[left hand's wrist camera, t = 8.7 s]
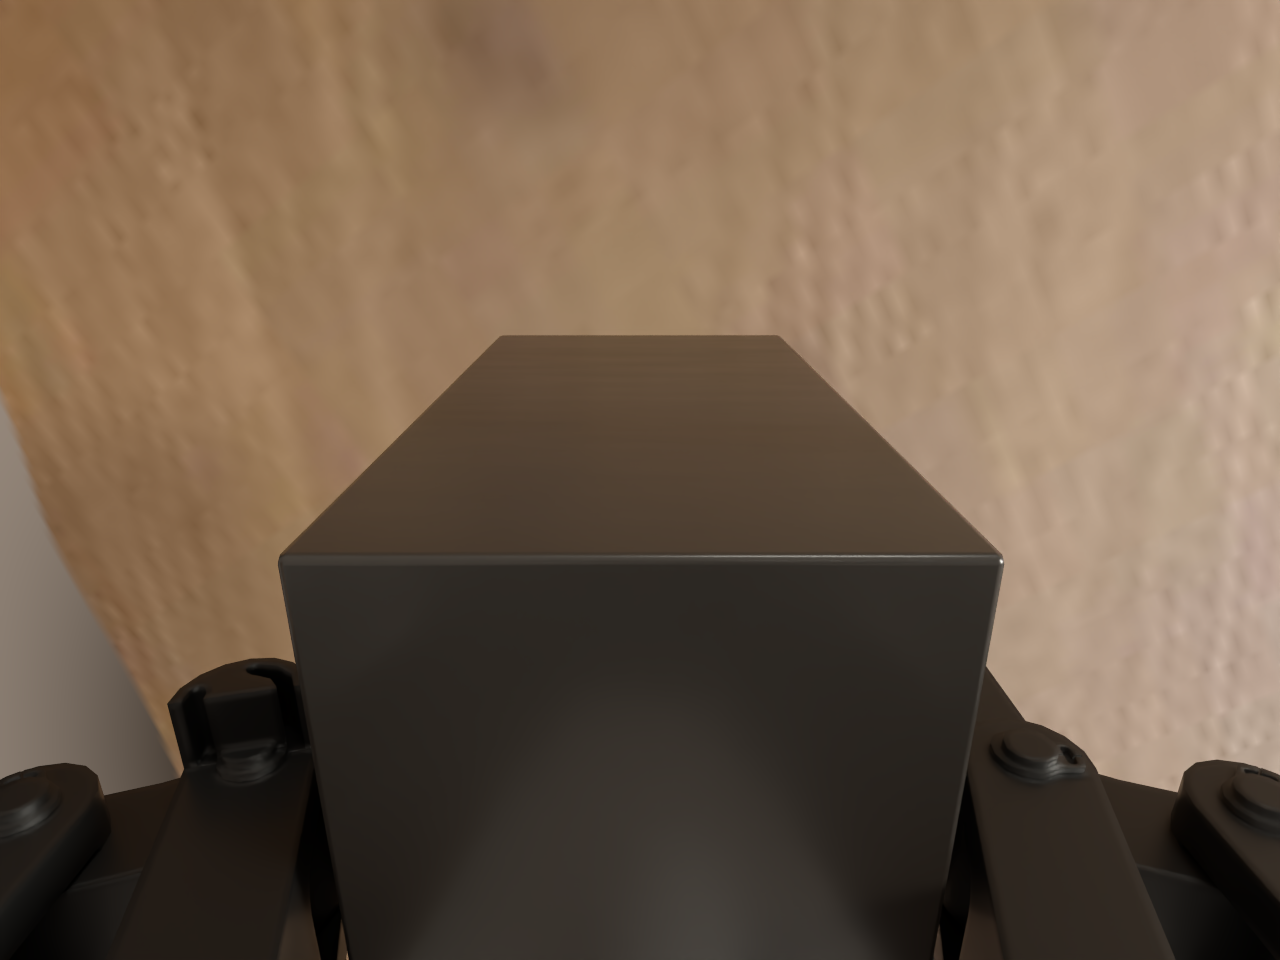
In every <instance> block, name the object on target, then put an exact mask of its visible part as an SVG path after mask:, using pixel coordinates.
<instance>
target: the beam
mask: <svg viewBox="0 0 1280 960" xmlns="http://www.w3.org/2000/svg"><path fill="white" fill-rule="evenodd" d="M278 567H279V573H280V579H281V584H282V590H283V595H284V601H285V606H286V612H287V618H288V623H289V629H290V634H291V640H292V645H293V651H294V657H295V662H296V668H297V673H298V679H299V684H300V690H301V696H302V701H303V707H304V712H305V718H306V723H307V729H308V735H309V740H310V746H311V751H312V757H313V762H314V768H315V774H316V779H317V785H318V790H319V796H320V802H321V807H322V813H323V818H324V824H325V829H326V835H327V841H328V846H329V852H330V857H331V863H332V868H333V874H334V880H335V885H336V891H337V896H338V902H339V907H340V913H341V919H342V924H343V930H344V935H345V941H346V946H347V952H348V958H349V960H933V956H934V950H935V944H936V939H937V933H938V928H939V922H940V917H941V911H942V906H943V900H944V895H945V889H946V884H947V878H948V872H949V867H950V861H951V856H952V850H953V845H954V839H955V834H956V828H957V823H958V817H959V812H960V806H961V800H962V795H963V789H964V784H965V778H966V773H967V767H968V762H969V756H970V751H971V745H972V739H973V734H974V728H975V723H976V717H977V712H978V706H979V701H980V695H981V690H982V684H983V679H984V673H985V667H986V662H987V656H988V651H989V645H990V640H991V634H992V629H993V623H994V618H995V612H996V607H997V601H998V595H999V590H1000V584H1001V579H1002V573H1003V568H1004V560H1003V556H1002V554H1001V553H1000V552H999V551H998V550H997V549H996V548H995V547H994V546H993V545H992V544H991V543H990V542H989V541H988V540H987V539H986V538H985V537H984V536H983V535H982V534H981V533H980V532H979V531H978V530H977V529H975V528H974V527H973V526H972V525H971V524H970V523H969V522H968V521H967V520H966V519H965V518H964V517H963V516H962V515H961V514H960V513H959V512H958V511H957V510H956V509H955V508H954V507H953V506H952V505H951V504H950V503H949V502H948V501H947V500H946V499H945V498H944V497H943V496H942V495H941V494H940V493H939V492H938V491H937V490H936V489H935V488H934V487H933V486H932V485H931V484H930V483H929V482H928V481H927V480H926V479H925V478H924V477H923V476H922V475H921V474H919V473H918V472H917V471H916V470H915V469H914V468H913V467H912V466H911V465H910V464H909V463H908V462H907V461H906V460H905V459H904V458H903V457H902V456H901V455H900V454H899V453H898V452H897V451H896V450H895V449H894V448H893V447H892V446H891V445H890V444H889V443H888V442H887V441H886V440H885V439H884V438H883V437H882V436H881V435H880V434H879V433H878V432H877V431H876V430H875V429H874V428H873V427H872V426H871V425H870V424H869V423H868V422H867V421H866V420H865V419H863V418H862V417H861V416H860V415H859V414H858V413H857V412H856V411H855V410H854V409H853V408H852V407H851V406H850V405H849V404H848V403H847V402H846V401H845V400H844V399H843V398H842V397H841V396H840V395H839V394H838V393H837V392H836V391H835V390H834V389H833V388H832V387H831V386H830V385H829V384H828V383H827V382H826V381H825V380H824V379H823V378H822V377H821V376H820V375H819V374H818V373H817V372H816V371H815V370H814V369H813V368H812V367H811V366H810V365H809V364H807V363H806V362H805V361H804V360H803V359H802V358H801V357H800V356H799V355H798V354H797V353H796V352H795V351H794V350H793V349H792V348H791V347H790V346H789V345H788V344H787V343H786V342H785V341H784V340H783V339H782V338H781V337H780V336H777V335H714V336H500V337H499V338H498V339H497V340H496V341H495V342H494V343H493V344H492V345H491V346H490V347H489V348H488V349H487V350H486V351H485V352H484V353H483V354H482V355H481V356H480V357H479V358H478V359H477V360H476V361H475V362H474V363H473V364H472V365H471V366H470V367H469V368H468V369H467V370H466V371H465V372H464V373H463V374H462V375H461V376H460V377H459V378H458V379H457V380H456V381H455V382H454V383H453V384H452V385H451V386H450V387H449V388H448V389H447V390H446V391H445V392H444V393H443V394H442V395H441V396H440V397H439V398H437V399H436V400H435V401H434V402H433V403H432V404H431V405H430V406H429V407H428V408H427V409H426V410H425V411H424V412H423V413H422V414H421V415H420V416H419V417H418V418H417V419H416V420H415V421H414V422H413V423H412V424H411V425H410V426H409V427H408V428H407V429H406V430H405V431H404V432H403V433H402V434H401V435H400V436H399V437H398V438H397V439H396V440H395V441H394V442H393V443H392V444H391V445H390V446H389V447H388V448H387V449H386V450H385V451H384V452H383V453H382V454H381V455H380V456H379V457H378V458H377V459H376V460H375V461H374V462H373V463H372V464H371V465H370V466H369V467H368V468H367V469H366V470H365V471H364V472H363V473H362V474H361V475H360V476H359V477H358V478H357V479H356V480H355V481H354V482H353V483H352V484H351V485H350V486H349V487H348V488H347V489H346V490H345V491H344V492H343V493H342V494H341V495H340V496H339V497H338V498H337V499H336V500H335V501H334V502H333V503H332V504H331V505H330V506H329V507H328V508H327V509H326V510H325V511H324V512H323V513H322V514H321V515H320V516H319V517H318V518H317V519H316V520H315V521H314V522H313V523H312V524H311V525H310V526H309V527H308V528H307V529H306V530H305V531H304V532H303V533H302V534H301V535H300V536H299V537H298V538H297V539H296V540H295V541H294V542H292V543H291V544H290V545H289V546H288V547H287V548H286V549H285V550H284V551H283V552H282V553H281V554H280V557H279V561H278Z"/></svg>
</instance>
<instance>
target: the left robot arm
mask: <svg viewBox="0 0 1280 960" xmlns="http://www.w3.org/2000/svg"><path fill="white" fill-rule="evenodd" d="M167 705H168V709H169V712H170V716H171V720H172V724H173V728H174V731H175V735H176V739H177V743H178V747H179V751H180V754H181V758H182V762H183V766H184V771H183V773H182V776H181V778H178V779H174V780H171V781H167V782H164V783H160V784H155V785H150V786H146V787H141V788H137V789H132V790H128V791H123V792H118V793H114V794H109V795H103V791H102V788H101V785H100V782H99V779H98V776H97V775H96V774H95V773H94V772H93V771H91V770H90V769H89V768H88V767H87V766H83V765H76V764H69V763H61V764H53V765H45V766H38V767H35V768H32V769H27V770H24V771H22V772H17V773H15V774H12V775H9V776H7V777H5V778H3V779H1V780H0V960H346V955H347V946H346V941H345V935H344V930H343V924H342V919H341V913H340V907H339V902H338V896H337V891H336V885H335V880H334V874H333V868H332V863H331V857H330V852H329V846H328V841H327V835H326V829H325V824H324V818H323V813H322V807H321V802H320V796H319V790H318V785H317V779H316V774H315V768H314V762H313V757H312V751H311V746H310V740H309V735H308V729H307V723H306V718H305V712H304V707H303V701H302V696H301V690H300V684H299V679H298V673H297V668H296V664H295V663H293V662H290V661H286V660H281V659H277V658H258V659H248V660H243V661H239V662H234V663H230V664H225V665H223V666H221V667H218V668H216V669H213V670H211V671H208V672H206V673H204V674H201V675H199V676H198V677H196V678H195V679H193V680H192V681H190V682H189V683H188V684H186V685H185V686H183V687H182V688H180V689H179V690H178V692H177V693H176V694H175V695H174V696H173V698H172V699H171V700H170V701H169V702H168V704H167ZM933 960H1280V775H1278V774H1276V773H1273V772H1271V771H1268V770H1265V769H1263V768H1261V769H1260V768H1258V767H1256V766H1252V765H1248V764H1245V763H1238V762H1231V761H1223V760H1211V761H1204V762H1197V763H1195V764H1194V765H1192V766H1191V767H1190V768H1189V769H1187V770H1186V771H1185V772H1184V774H1183V777H1182V781H1181V784H1180V787H1179V790H1178V793H1177V792H1173V791H1168V790H1163V789H1159V788H1154V787H1150V786H1145V785H1140V784H1136V783H1131V782H1126V781H1122V780H1118V779H1114V778H1111V777H1107V776H1104V775H1100V774H1098V772H1097V769H1096V767H1095V766H1094V765H1093V763H1092V762H1091V760H1090V759H1089V758H1088V756H1087V755H1086V753H1085V752H1084V751H1083V750H1082V749H1080V748H1079V747H1078V746H1077V745H1075V744H1074V743H1073V742H1071V741H1070V740H1069V739H1067V738H1066V737H1065V736H1063V735H1061V734H1059V733H1056V732H1054V731H1052V730H1050V729H1048V728H1046V727H1044V726H1042V725H1038V724H1034V723H1030V722H1027V721H1025V720H1024V718H1023V717H1022V716H1021V714H1020V713H1019V711H1018V710H1017V709H1016V707H1015V706H1014V704H1013V703H1012V702H1011V700H1010V699H1009V698H1008V696H1007V695H1006V693H1005V692H1004V691H1003V689H1002V688H1001V686H1000V685H999V684H998V682H997V681H996V680H995V678H994V677H993V675H992V674H991V673H990V671H989V670H988V668H987V667H985V673H984V679H983V684H982V690H981V695H980V701H979V706H978V712H977V717H976V723H975V728H974V734H973V739H972V745H971V751H970V756H969V762H968V767H967V773H966V778H965V784H964V789H963V795H962V800H961V806H960V812H959V817H958V823H957V828H956V834H955V839H954V845H953V850H952V856H951V861H950V867H949V872H948V878H947V884H946V889H945V895H944V900H943V906H942V911H941V917H940V922H939V928H938V933H937V939H936V944H935V950H934V956H933Z"/></svg>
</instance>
